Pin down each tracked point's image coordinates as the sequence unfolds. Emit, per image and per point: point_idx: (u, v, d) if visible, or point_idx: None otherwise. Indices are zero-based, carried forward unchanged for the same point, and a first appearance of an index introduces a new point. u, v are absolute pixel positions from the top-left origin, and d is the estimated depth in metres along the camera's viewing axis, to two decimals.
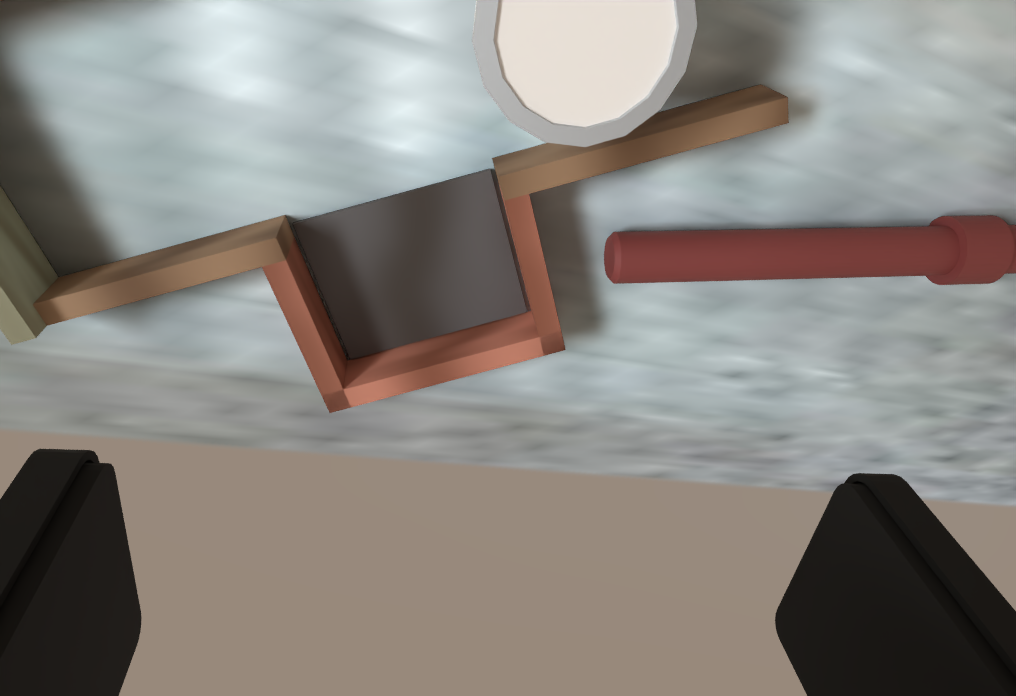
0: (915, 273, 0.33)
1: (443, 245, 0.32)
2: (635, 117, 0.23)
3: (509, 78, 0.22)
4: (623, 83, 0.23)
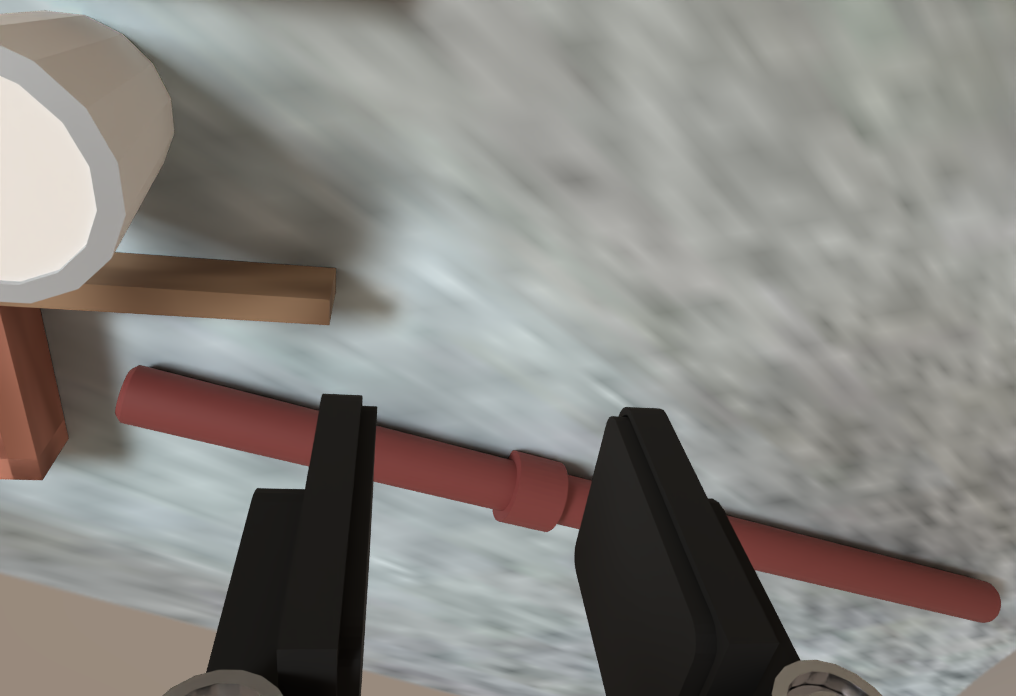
0: (466, 502, 0.31)
1: None
2: (42, 288, 0.19)
3: None
4: (26, 247, 0.18)
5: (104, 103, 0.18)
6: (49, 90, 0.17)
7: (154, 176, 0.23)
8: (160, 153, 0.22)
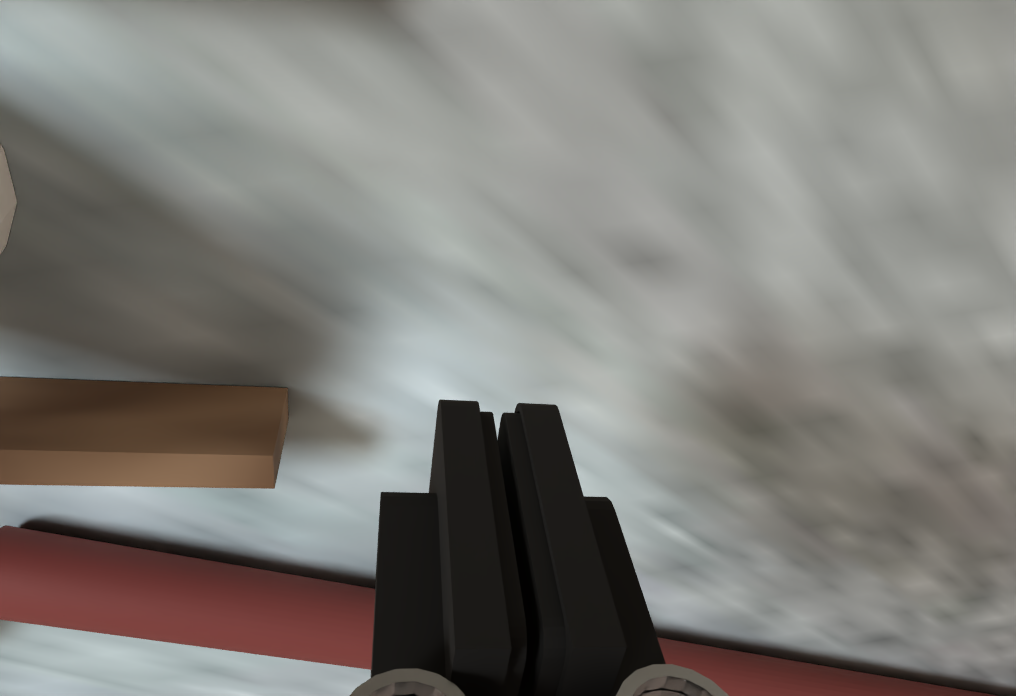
0: None
1: None
2: None
3: None
4: None
5: None
6: None
7: None
8: None
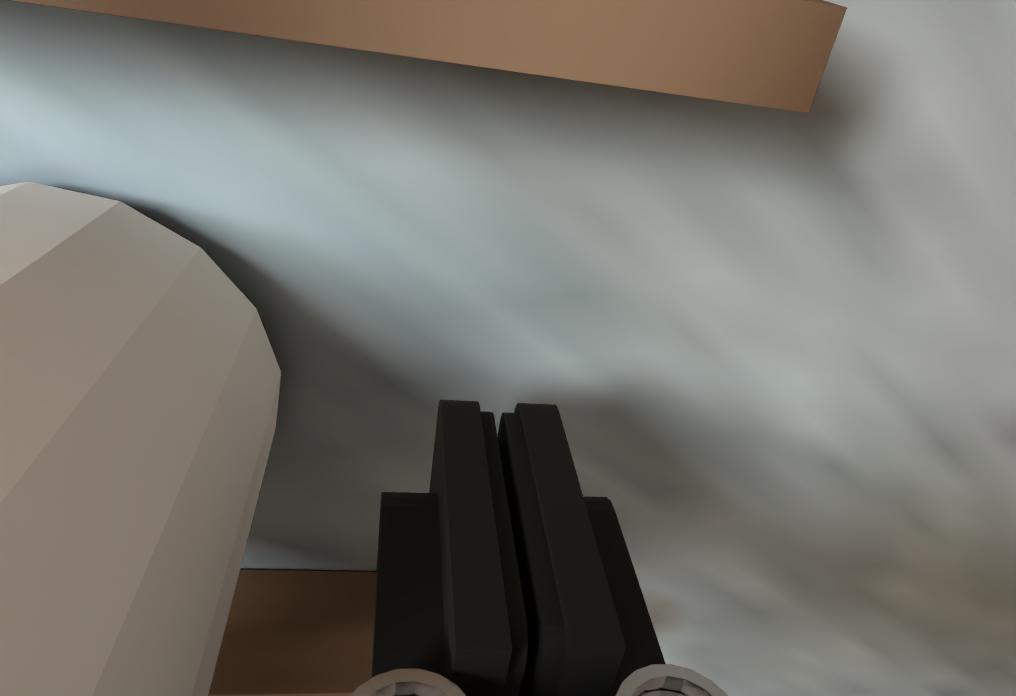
0: None
1: None
2: None
3: None
4: None
5: (113, 674, 0.05)
6: None
7: None
8: (245, 544, 0.09)
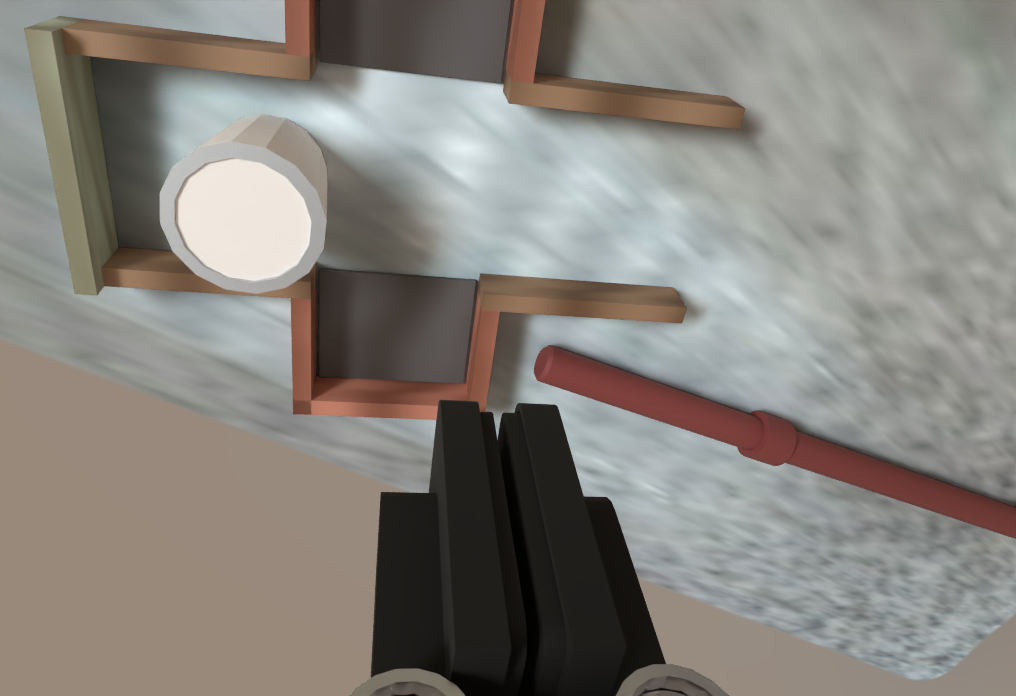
0: (731, 443, 0.47)
1: (422, 319, 0.42)
2: (266, 285, 0.33)
3: (180, 226, 0.31)
4: (263, 262, 0.32)
5: (318, 185, 0.32)
6: (300, 181, 0.30)
7: None
8: None
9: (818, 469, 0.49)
